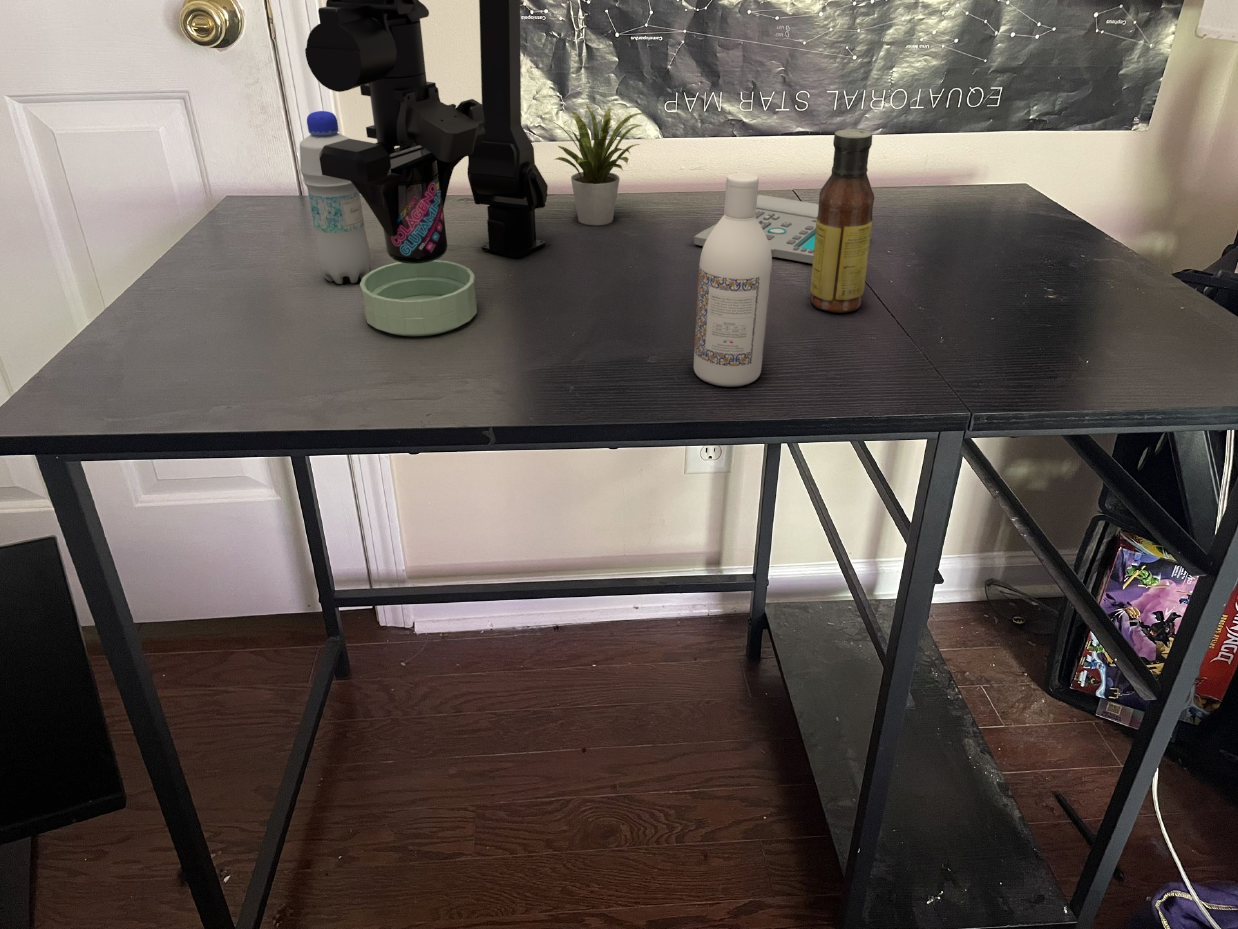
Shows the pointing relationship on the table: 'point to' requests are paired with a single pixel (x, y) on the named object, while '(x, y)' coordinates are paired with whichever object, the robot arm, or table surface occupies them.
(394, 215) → the robot arm
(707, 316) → the bath foam
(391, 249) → the supplement container
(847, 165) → the sauce bottle
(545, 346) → the table surface
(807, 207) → the office telephone
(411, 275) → the bowl
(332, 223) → the bottle
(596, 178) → the house plant
